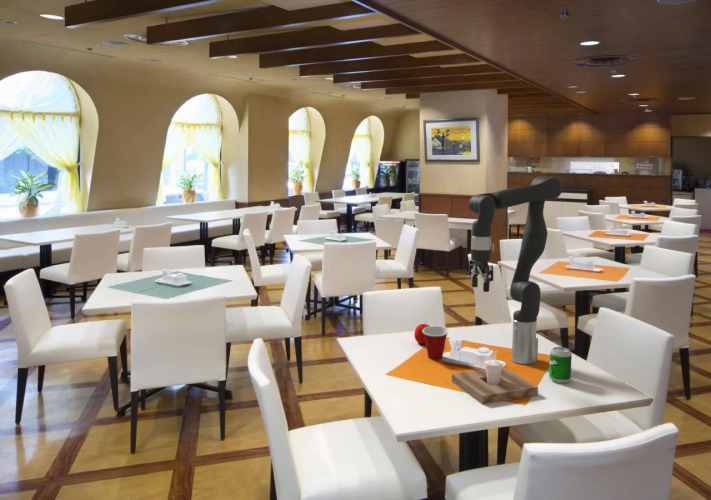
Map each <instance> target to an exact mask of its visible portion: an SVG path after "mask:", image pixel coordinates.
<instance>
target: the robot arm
mask: <svg viewBox="0 0 711 500" xmlns="http://www.w3.org/2000/svg"><path fill="white" fill-rule="evenodd" d="M563 188H564V187H563V183H562V181H561V180H560V179H559V178H557V177H555V176H537V177H535V178H534V179H533V180H532V181H531V185H527V186H518V187H510V188H506V189H505V188H504V189H500V190H498V191H494V192H487V193H486V192H485V193H480V194H479V193H478V194H476V195H473V196H472V197H471V198H470V199H469V201H468V209H469V210H470V211H471V212H472V213H474V214H479V215H478V216H477V217H478V218H477V220H474V221H473V222H472V225H471V226H472V227H471V244H470V260H469V261H468V275H469V276H470V277H471V287H472V288H478V287H479V285H478V284H479V282H478V281H479V275H480V277H481V278H482V281H483V284H482V285H483V286H482V290H483V292H484V293H488V292H489V291H490V283H491V282H493V281H494V265H490V264H489V261H491V260H492V224H493V221H494V216H495V213H496V210H504V209H507V208H508V209H509V208H510V207H511V208H512V207H515V206H518V205H519V206H520V205H523V204H526V203H528V206H527V215H526V219H525V225H524V230H523V234H522V239H521V245H520V250H519V255H518V258H517V259H518V260H517V264H516V268H515V270H514V274H513V277H512V280H511V283H510V287H509V295H510V298H511V299H512V300H513V301H515V302H518V303H520V304H521V305H520V310H515V311H514V312H513V315H512V340H511V341H512V342H511V345H512V346H511V347H512V348H511V360H512V362H514V363H517V364H521V365H531V364H535V363H536V362H538V355H539V354H538V353H539V352H538V351H539V338H538V337H537V323H538V321H537V320H538V315H539V313H540V305H541V298H542V297H541V294H542V291H541V287H540V285H538V283H536V282H534V281H530V275H531V272H532V268H533V267H534V265H535V264H536V262H537V261H538V260H539V259H540V258H541V256H542V255H543V253H544V251H545V249H546V245H547V240H548V229H547V224H546V221H545V216H544V207H545V203H546V201H553V200H556V199H557V198H559V197H560V196H561V194H562V192H563Z"/></svg>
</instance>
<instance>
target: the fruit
mask: <svg viewBox="0 0 711 500" xmlns="http://www.w3.org/2000/svg"><path fill="white" fill-rule="evenodd" d="M430 326H431V325H429V324H427V321H425V323H421V324H418V325H417V326H416V328H415V329H414V330H415V331H414V339H415V341H416V342H417V343H418V344H420V345H422V346H423V345H424V346H426V342H425V337H424V334H423V332H422V330H423V329H424V328H426V327H430Z"/></svg>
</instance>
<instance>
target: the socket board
mask: <svg viewBox="0 0 711 500" xmlns="http://www.w3.org/2000/svg"><path fill="white" fill-rule="evenodd" d="M451 382H452V383H453V384H455V385H456V386H457V387H458V388H460V389H461V390H462V391H464V392H465V393H466V394H467V395H469V396H471V397H472V398H473V399H475V400H476V401H478V403H480V404H481V405H487V404H494V403H499V402H505V401H511V400H512V401H513V400H518V399H524V398H529V397H536V396H538V395H539V386H537V385H535V384H533V382H531V381H528V380H527V379H525V378H523V376H520V375H519V374H517V373H515V372H513V371H512V370H510V369H508V368H507V367H505V366H502V370H501V376H500V382H499V384H496V385H489V384H488V383H487V373H486V368H482V369H476V370H468V371H462V372H455V373H454V372H453V373H451ZM486 403H487V404H486Z"/></svg>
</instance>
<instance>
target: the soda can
mask: <svg viewBox="0 0 711 500" xmlns="http://www.w3.org/2000/svg"><path fill="white" fill-rule="evenodd" d="M572 356H573V353H572V351H571V350H570V349H569V348H567V347H563V346H555V347H552V349H550V351H549V369H548V371H549V372H548V373H549V374H548V376H549V377H548V378H549V379H550V380H551V381H552V382H553V383H557V384H567V383H568V382H569V381H570V380H571V379H572V378H571V376H572V375H571V374H572Z"/></svg>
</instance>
